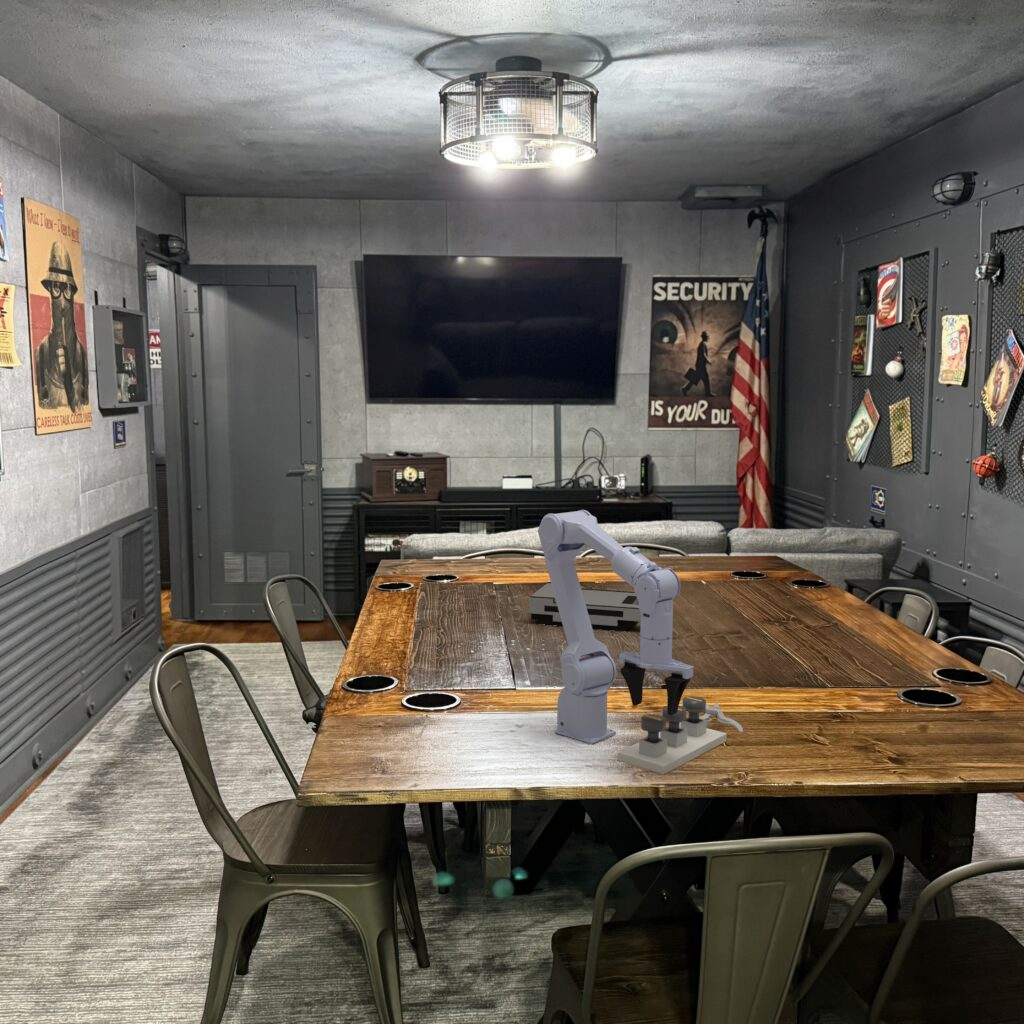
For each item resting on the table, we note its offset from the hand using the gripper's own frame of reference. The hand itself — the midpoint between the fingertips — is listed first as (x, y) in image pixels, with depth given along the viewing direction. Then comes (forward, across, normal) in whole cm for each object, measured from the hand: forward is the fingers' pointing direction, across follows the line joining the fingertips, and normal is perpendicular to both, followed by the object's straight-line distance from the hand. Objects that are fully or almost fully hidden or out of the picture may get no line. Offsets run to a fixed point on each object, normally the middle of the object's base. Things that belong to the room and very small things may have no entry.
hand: (654, 708), depth 188 cm
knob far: (+6, 0, +14) cm, 15 cm away
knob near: (+6, 0, 0) cm, 6 cm away
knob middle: (+6, 0, +7) cm, 9 cm away
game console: (+10, -70, +78) cm, 105 cm away
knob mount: (+10, 0, +7) cm, 12 cm away
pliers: (+10, -3, +27) cm, 29 cm away
